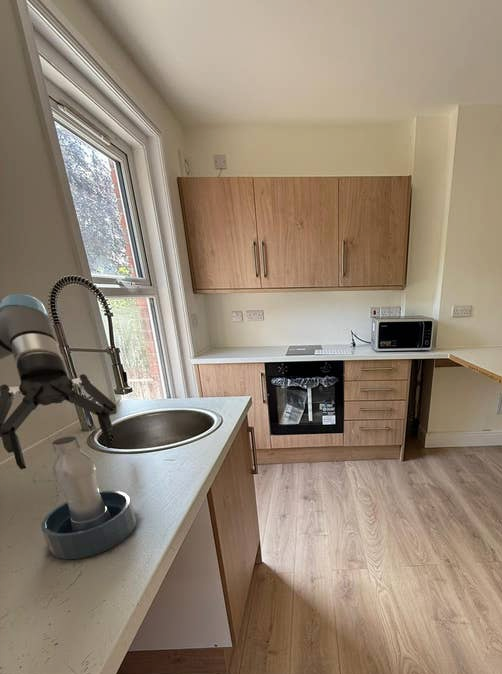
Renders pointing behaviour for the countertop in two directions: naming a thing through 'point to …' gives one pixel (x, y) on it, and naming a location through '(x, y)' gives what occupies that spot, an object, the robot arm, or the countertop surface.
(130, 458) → the countertop surface
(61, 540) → the bowl
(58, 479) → the plastic bottle
